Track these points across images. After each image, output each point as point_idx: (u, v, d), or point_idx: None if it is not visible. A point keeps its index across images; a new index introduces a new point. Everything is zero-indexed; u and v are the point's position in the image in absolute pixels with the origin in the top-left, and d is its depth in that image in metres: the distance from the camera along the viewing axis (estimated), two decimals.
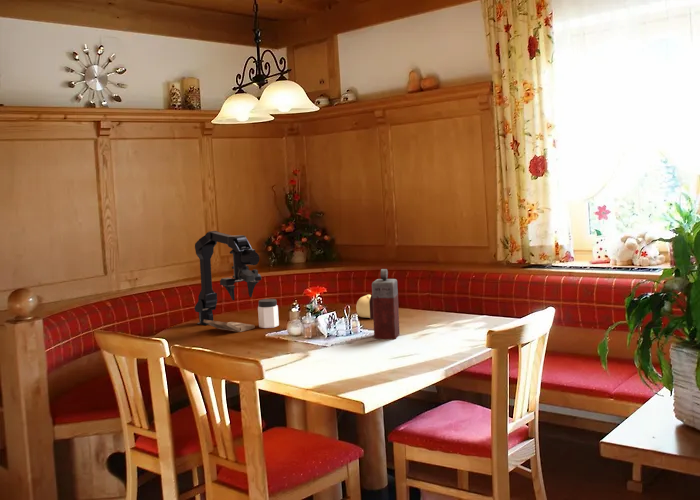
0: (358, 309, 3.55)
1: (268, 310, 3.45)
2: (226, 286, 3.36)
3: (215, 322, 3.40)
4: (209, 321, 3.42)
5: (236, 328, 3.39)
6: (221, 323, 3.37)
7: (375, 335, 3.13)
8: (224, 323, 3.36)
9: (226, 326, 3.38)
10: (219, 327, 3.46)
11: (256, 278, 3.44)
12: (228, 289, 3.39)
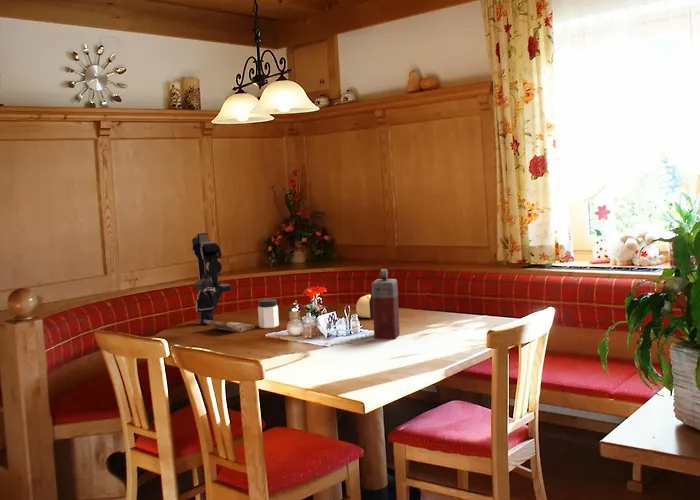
0: (358, 309, 3.55)
1: (268, 310, 3.45)
2: None
3: (215, 322, 3.40)
4: (209, 321, 3.42)
5: (236, 328, 3.39)
6: (221, 323, 3.37)
7: (375, 335, 3.13)
8: (224, 323, 3.36)
9: (226, 326, 3.38)
10: (219, 327, 3.46)
11: (216, 289, 3.32)
12: None
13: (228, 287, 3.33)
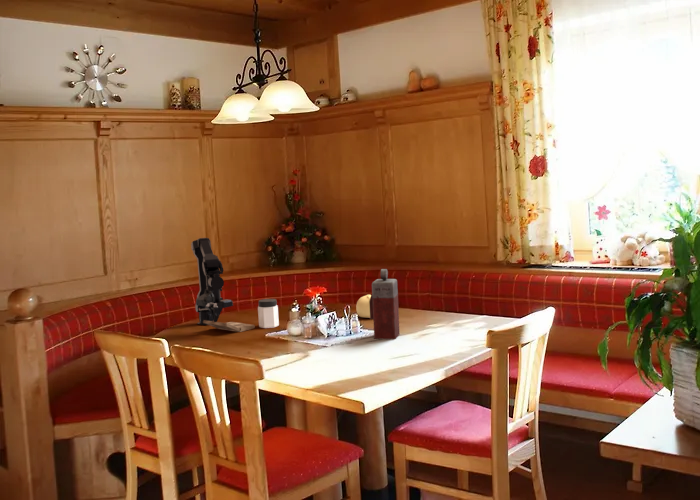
0: (358, 309, 3.55)
1: (268, 310, 3.45)
2: None
3: (215, 323, 3.40)
4: (209, 322, 3.42)
5: (236, 328, 3.39)
6: (221, 324, 3.37)
7: (375, 335, 3.13)
8: (224, 324, 3.36)
9: (226, 326, 3.38)
10: (219, 327, 3.46)
11: (218, 305, 3.33)
12: None
13: (230, 303, 3.34)
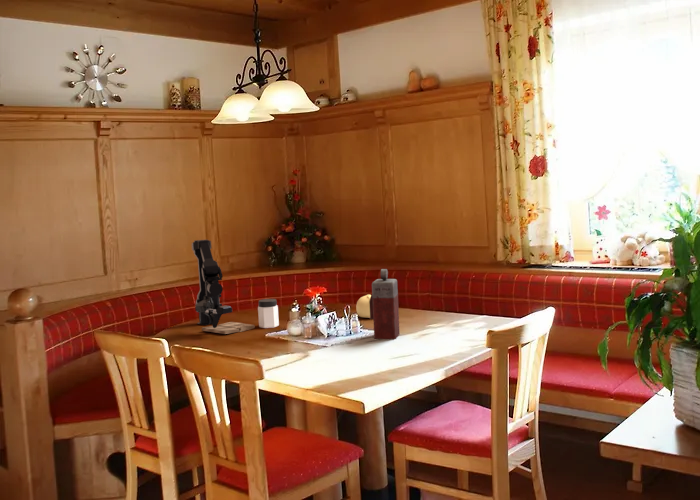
0: (358, 309, 3.55)
1: (268, 310, 3.45)
2: None
3: (213, 331, 3.39)
4: (207, 329, 3.42)
5: (235, 330, 3.39)
6: (219, 332, 3.36)
7: (375, 335, 3.13)
8: (222, 332, 3.35)
9: None
10: None
11: (217, 311, 3.32)
12: None
13: (229, 309, 3.34)
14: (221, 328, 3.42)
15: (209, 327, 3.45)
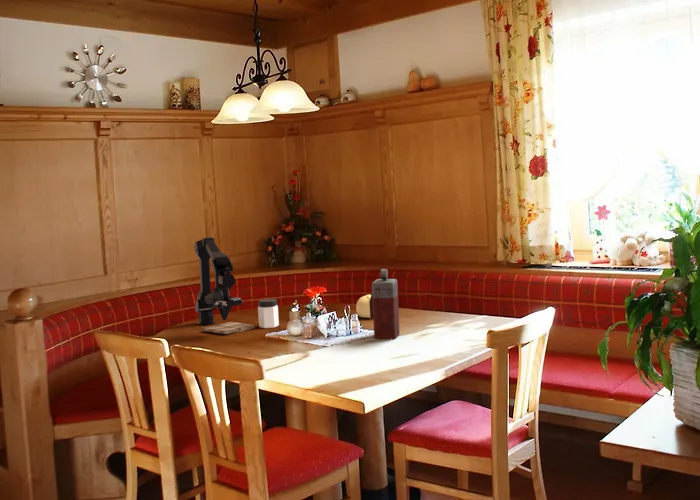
0: (358, 309, 3.55)
1: (268, 310, 3.45)
2: None
3: (213, 331, 3.39)
4: (207, 329, 3.42)
5: (235, 330, 3.39)
6: (219, 332, 3.36)
7: (375, 335, 3.13)
8: (222, 332, 3.35)
9: None
10: None
11: (227, 303, 3.29)
12: None
13: (239, 301, 3.30)
14: (221, 328, 3.42)
15: (209, 327, 3.45)
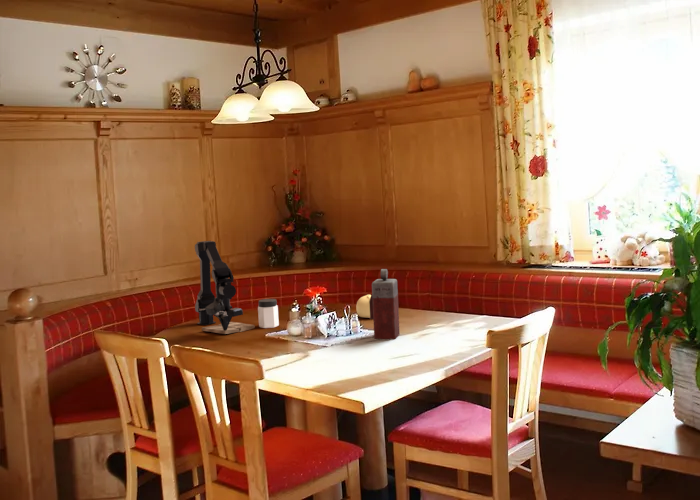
0: (358, 309, 3.55)
1: (268, 310, 3.45)
2: None
3: (213, 331, 3.39)
4: (207, 329, 3.42)
5: (235, 330, 3.39)
6: (219, 332, 3.36)
7: (375, 335, 3.13)
8: (222, 332, 3.35)
9: None
10: None
11: (228, 313, 3.29)
12: None
13: (240, 311, 3.31)
14: (221, 328, 3.42)
15: (209, 327, 3.45)
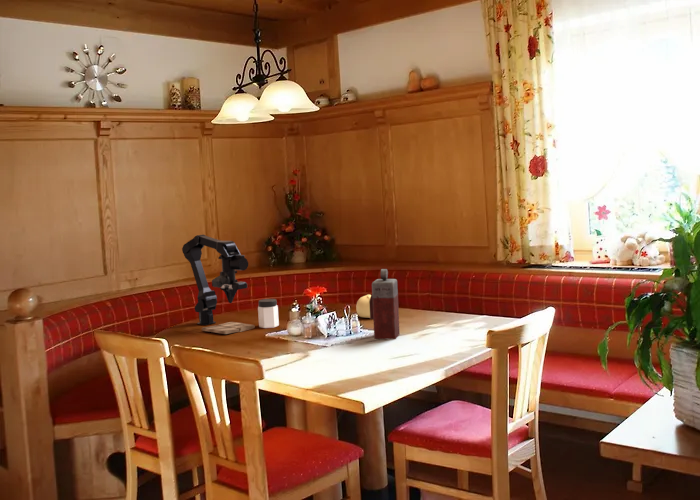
0: (358, 309, 3.55)
1: (268, 310, 3.45)
2: None
3: (213, 331, 3.39)
4: (207, 329, 3.42)
5: (235, 330, 3.39)
6: (219, 332, 3.36)
7: (375, 335, 3.13)
8: (222, 332, 3.35)
9: None
10: None
11: (232, 286, 3.43)
12: None
13: (244, 285, 3.44)
14: (221, 328, 3.42)
15: (209, 327, 3.45)
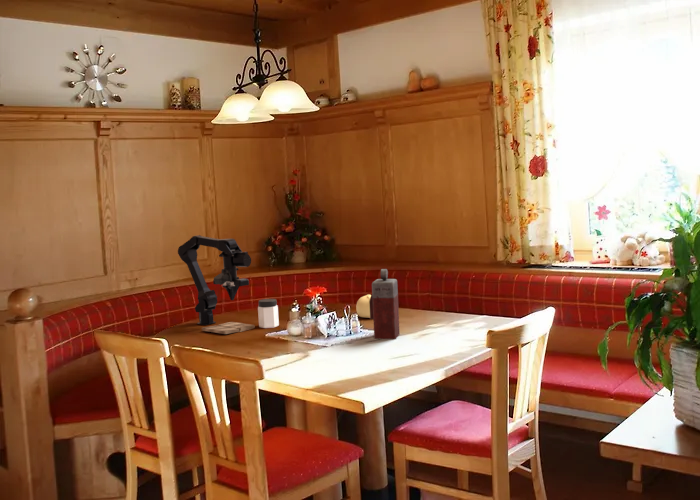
0: (358, 309, 3.55)
1: (268, 310, 3.45)
2: None
3: (213, 331, 3.39)
4: (207, 329, 3.42)
5: (235, 330, 3.39)
6: (219, 332, 3.36)
7: (375, 335, 3.13)
8: (222, 332, 3.35)
9: None
10: None
11: (235, 283, 3.46)
12: None
13: (246, 281, 3.47)
14: (221, 328, 3.42)
15: (209, 327, 3.45)
